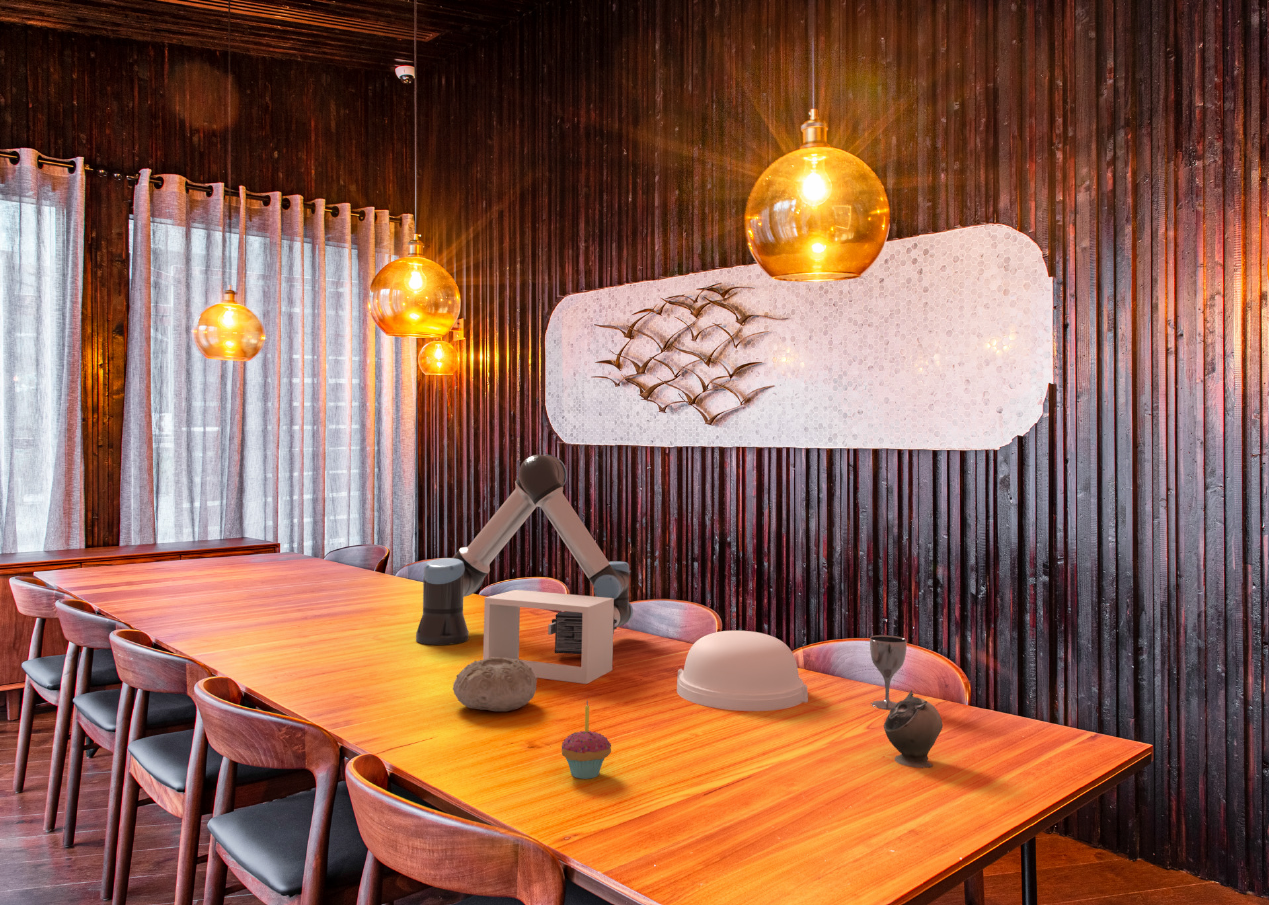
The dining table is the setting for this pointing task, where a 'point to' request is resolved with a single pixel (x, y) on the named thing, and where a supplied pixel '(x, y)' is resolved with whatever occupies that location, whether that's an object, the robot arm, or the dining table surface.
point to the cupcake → (585, 751)
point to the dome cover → (741, 673)
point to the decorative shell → (495, 684)
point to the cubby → (595, 617)
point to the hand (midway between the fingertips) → (569, 631)
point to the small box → (568, 633)
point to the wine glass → (887, 661)
